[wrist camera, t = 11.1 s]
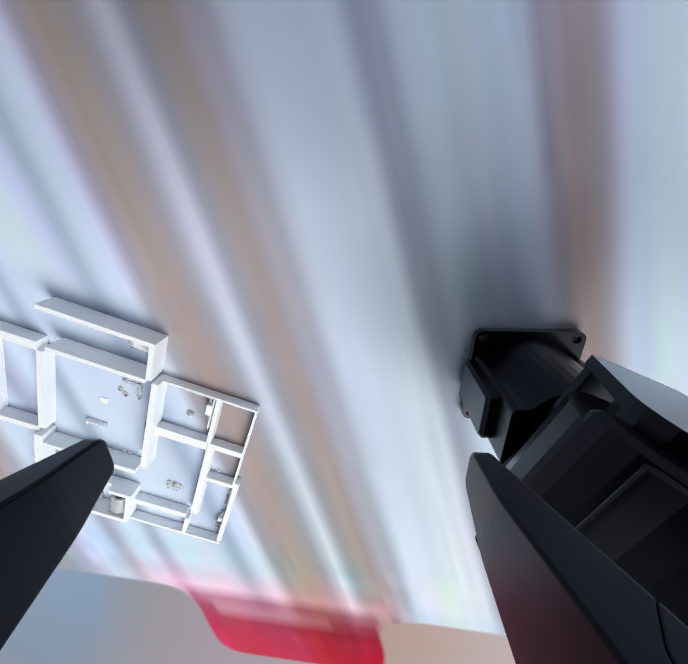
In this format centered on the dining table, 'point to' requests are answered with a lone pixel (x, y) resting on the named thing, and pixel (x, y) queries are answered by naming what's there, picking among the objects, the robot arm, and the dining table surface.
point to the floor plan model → (156, 350)
